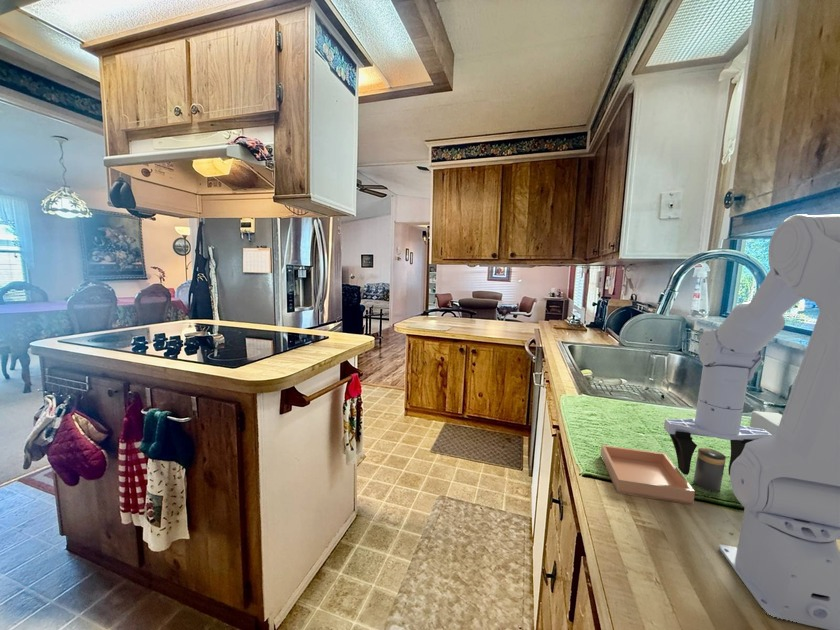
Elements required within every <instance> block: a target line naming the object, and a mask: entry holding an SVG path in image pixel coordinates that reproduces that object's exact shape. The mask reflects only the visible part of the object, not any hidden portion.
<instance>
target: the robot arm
mask: <svg viewBox="0 0 840 630" xmlns="http://www.w3.org/2000/svg"><path fill="white" fill-rule="evenodd" d="M768 265H769V271H768V273H767V274H766V276H765V278H764V279H763V281H762V282H761V284H760V286H759V287H758V289H757V290H756V292H755V294H754V296H753V297H752V298H751V300H750V301H746V302H742V303H741V302H740V303H739V304H737V305H736V306H734V308H733V309H732V310H731V311H730V312H729V314H728V315H727V317H725V319H724V320H723V322H722V324H720V326H719V327H718V328H716V329H714V328H711V330H704V332H703V333H702V335H701V336H700V338H699V342H698V350H697V351H698V358H699V360H700V362H701V363H702V369H701V371H702V372H701V377H700V385H699V390H698V396H697V397H698V398H697V403H696V411H695V417H694V418H665V419H664V425H663V429H664V431H665V432H666V433H667V434H668V436H670V440H671V441H672V444H673V447H674V451H675V455H676V459H677V469H678V470H679V472H680V473H681V474H682V475H686V476H688V475H689V473H690V470H691V463H692V458H693V455H694V452H695V451H696V448H697V447H698V445H697V444H696V443H695V442H694V441H693V437H692V436H700V437H708V438H717V439H721V440H727V441H730V457H729V464H728V476H729V479H730V485H731V489H732V493H733V494H734V496H735V498H736V499H737V500H738V502H739V503H740V505H742V506H743V508H744V509H743V517H742V521H741V526H740V532H739V536H738V543H737V547H736V546H733V545H726V544H719V545H718V549H719V550H720V553H722V555H723V556H724V557H725V558H726V560H727V561H728V564H729V565H731V567H732V569H733V570H734V571H735V573H736V574H737V575H738V576H739V578H740V580H741V581H742V583H744V586H746V588H747V589H748V591H749V592H750V594H751V595H752V596H753V598H754V599H755V600H756V602H757V603H758V604H759V606H760V607H761V609H762V608H763V609H764V610H765V611H766V612H767V613H768V614H770V615H772V616H773V617H772V618H774V616H775V617H777V618H776V619H779V618H781V619H780V620H783V619H786V620H785V621H788V620H790V621H789V622H792V621H793V623H796V622H797V623H798V624H802V625H806V626H811V627H815V628H820V629H824V630H840V549H839V547H838V543H837V541H838V540H840V214H839V213H838V214H811V215H808V214H806V213H804V214H803V213H801V214H793V215H790V216H789V217H787V218H786V219H784V220H783V221H782V222H781V223H780V224H779V225H778V226H777V228H775V230H774V232H773V233H772V236H771V237H770V240H769V245H768ZM802 299H804V300H805V299H806V300H808V301H811V302H814V304H815V305H816V306H817V308H818V310H819V313H818V316H817V319H816V322H815V323H814V327H813V329H812V333H811V335H810V338H809V340H808V343H807V347H806V349H805V351H804V354H803V358H802V360H801V363H800V366H799V369H798V372H797V373H796V377H795V379H794V382H793V385H792V387H791V391H790V393H789V396H788V399H787V401H786V405H785V407H784V409H783V410H784V411H783V413H782V414H781V415H782V418H781V421H780V424H779V426H778V429H777V432H776V433H775V434H773V435H772V434H770V433H769V432H767V431H766V430H764V429H758V428H752V427H750V426H746V425H742V424H741V422H742V417H743V412H744V407H745V405H744V404H745V400H746V394H747V388H748V383H749V382H750V381H751V382H752V381H753V380H754V376H755V372H756V370H757V369H758V367H759V366H760V365H761V363H762V359H763V355H762V349H763V348H764V347H765V346H766V345H768V344H769V343H770V342H771V340H773V338H775V337H776V336H777V335H778V334H779V333H780V332H781V331H782V330H783V329H784V327H785V324H786V320H785V317H784V314H785V313H786V312H787V311H789V310H790V309H792V308H793V306H795V305H796V304H797V303H798V302H800V301H801V300H802ZM763 609H762V610H763ZM764 610H763V611H764ZM765 611H764V612H765ZM766 612H765V613H766ZM768 614H767V615H768ZM797 623H796V624H797Z"/></svg>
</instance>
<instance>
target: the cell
mask: <svg viewBox="0 0 840 630" xmlns="http://www.w3.org/2000/svg"><path fill="white" fill-rule="evenodd" d="M726 460H727V457H726V455H724V453H721V452H720V451H717V450H715V449H712V448H707V447H700V448H698V449H697V455H696V463H695V470H694V475H693V483H694V484H695V483H696V484H697V485H696V486H698V487H699V486H700V488H701V487H702V488H701V489H703V488H704V490H705V489H707V490H706V491H708V490H710V491H709V492H713V491H718V492H720V491H721V488H722V487H721V486H722V482H723V477H724V476H723V475H724V469H725V465H726ZM719 490H720V491H719Z"/></svg>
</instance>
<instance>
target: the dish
mask: <svg viewBox="0 0 840 630" xmlns="http://www.w3.org/2000/svg"><path fill="white" fill-rule="evenodd" d="M600 449H601V450H600V457H601V456H602V458H603V460H604V463H605V465H606V467H605V469H606V468H607V469H606V471H608V472H607V474H608V475H609V478H610V480H611V483H612V484H613V486H614V489H615V490H616V493H617V494H620V495H621V494H622V495H627V496H635V497H640V498H647V499H652V500H659V501H665V502H671V503H672V502H673V503H677V504H683V505H689V506H693V505H694V501H695V494H696V490H694V488H693V487H692V486H691V484H690V483H689V481H688V480H687V479H686V478H685V477H684V476H683V473H682V472H681V471H680V470H679V468H678V467H676V466H675V464H674V463H673V461H671V459H670V458H669V457H668V456H667V454H666V453H665V452H658V451H650V450H643V449H636V448H627V447H620V446H611V445H604V444H603V445H602V444H601V448H600ZM602 458H601V459H602ZM604 463H603V464H604ZM605 465H604V466H605Z"/></svg>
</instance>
